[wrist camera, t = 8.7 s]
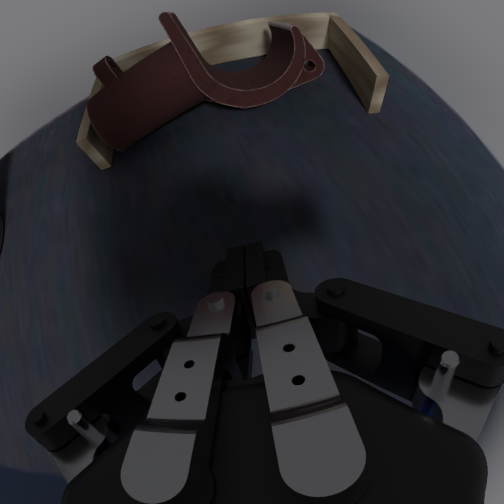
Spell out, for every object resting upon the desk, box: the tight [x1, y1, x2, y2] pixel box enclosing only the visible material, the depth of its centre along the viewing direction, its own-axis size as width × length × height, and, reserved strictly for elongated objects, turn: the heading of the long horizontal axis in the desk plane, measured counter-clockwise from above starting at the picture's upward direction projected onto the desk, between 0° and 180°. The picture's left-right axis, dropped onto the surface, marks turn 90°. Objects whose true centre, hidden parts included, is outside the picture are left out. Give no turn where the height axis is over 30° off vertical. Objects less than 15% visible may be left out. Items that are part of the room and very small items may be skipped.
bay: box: [76, 13, 389, 170], centre depth 21 cm, size 23×11×4 cm, turn 99°
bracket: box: [87, 12, 324, 151], centre depth 18 cm, size 6×17×10 cm, turn 110°
